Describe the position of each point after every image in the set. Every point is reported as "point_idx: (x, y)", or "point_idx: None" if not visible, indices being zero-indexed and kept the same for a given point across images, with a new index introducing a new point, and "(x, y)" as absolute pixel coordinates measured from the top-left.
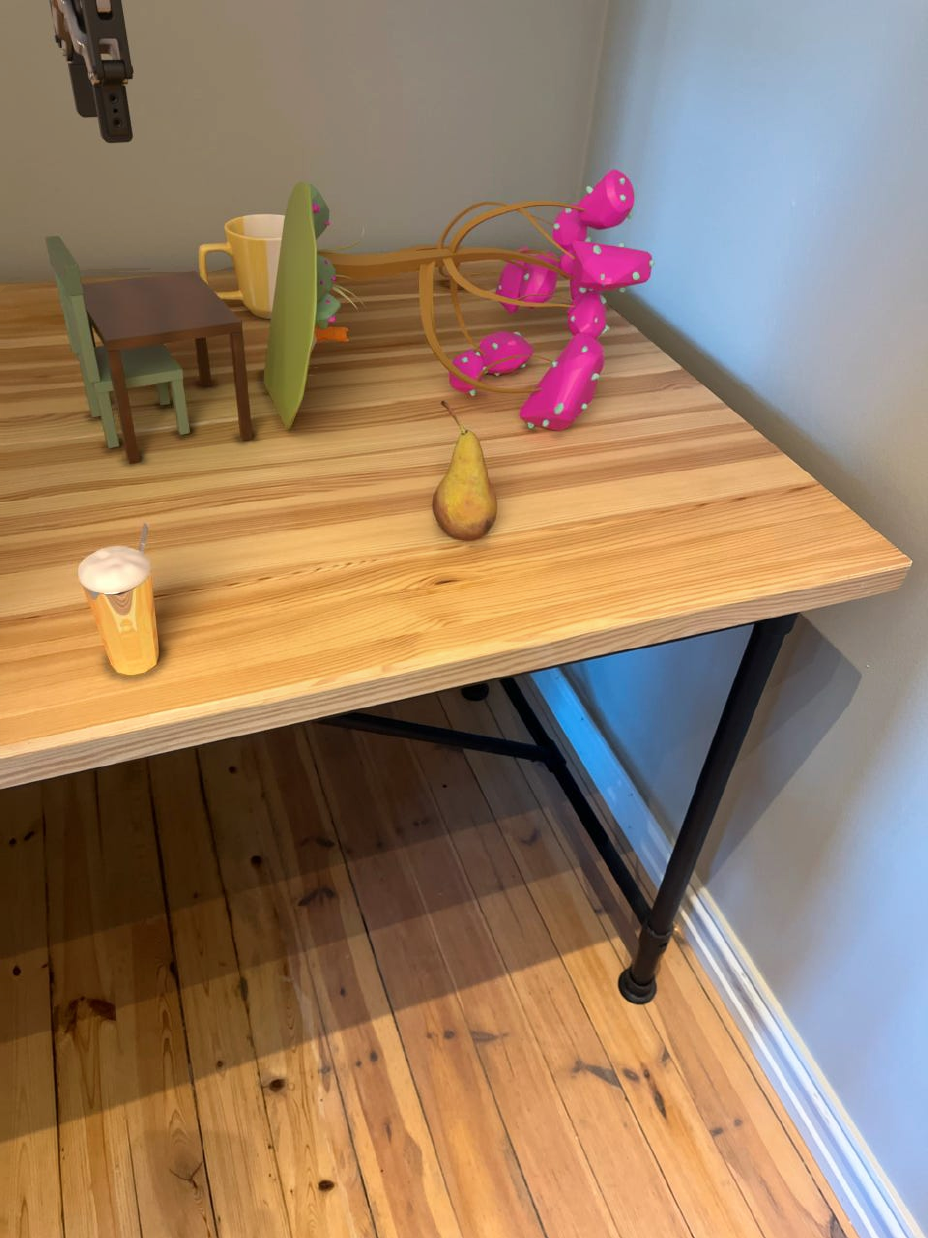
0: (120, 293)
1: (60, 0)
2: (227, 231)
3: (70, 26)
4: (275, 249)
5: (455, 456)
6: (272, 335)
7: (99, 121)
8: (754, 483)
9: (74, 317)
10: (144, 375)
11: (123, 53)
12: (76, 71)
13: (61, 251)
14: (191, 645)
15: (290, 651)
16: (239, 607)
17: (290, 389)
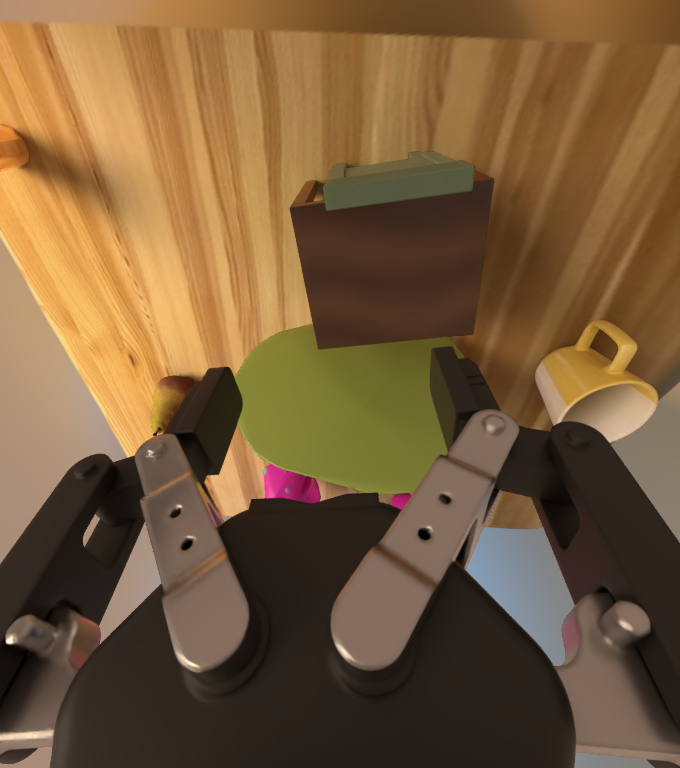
0: (436, 243)
1: (169, 597)
2: (620, 381)
3: (167, 526)
4: (557, 407)
5: (156, 414)
6: (402, 358)
7: (202, 385)
8: (225, 501)
9: (336, 175)
10: None
11: (87, 542)
12: (451, 411)
13: (392, 189)
14: (39, 193)
15: (46, 259)
16: (90, 236)
17: (280, 348)
